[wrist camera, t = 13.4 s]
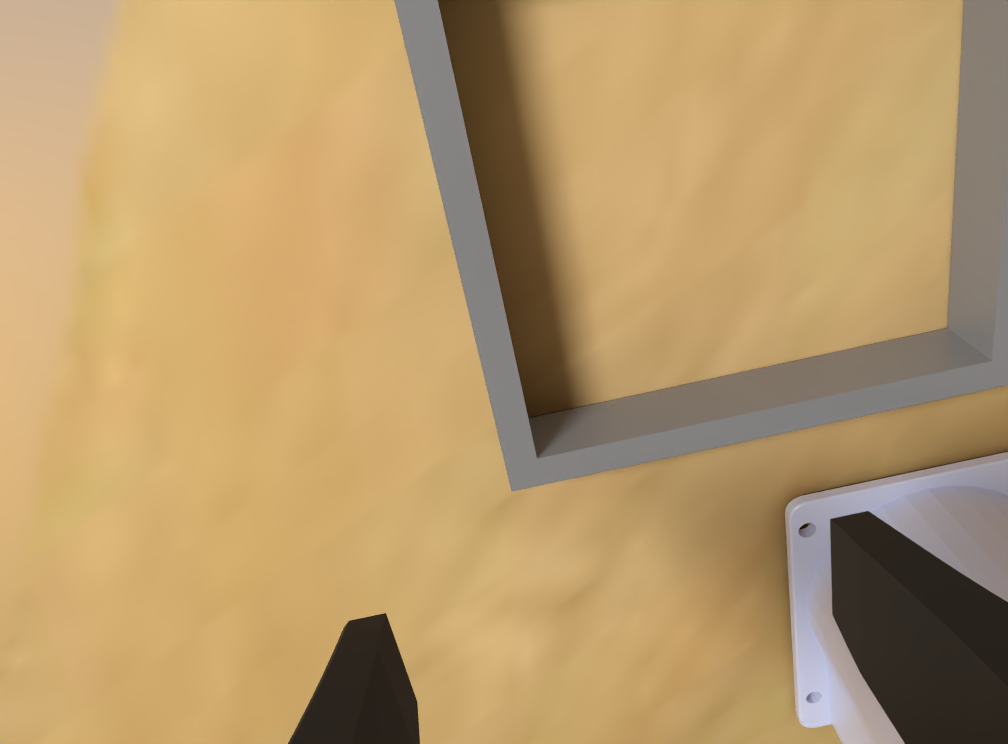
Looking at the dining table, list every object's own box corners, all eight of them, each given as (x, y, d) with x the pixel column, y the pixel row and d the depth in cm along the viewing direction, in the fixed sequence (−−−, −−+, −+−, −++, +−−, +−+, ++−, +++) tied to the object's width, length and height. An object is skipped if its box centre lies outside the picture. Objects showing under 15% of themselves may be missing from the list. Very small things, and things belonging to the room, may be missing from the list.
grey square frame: (975, 348, 23) (1021, 382, 21) (505, 448, 23) (511, 491, 21) (1014, -226, 17) (1083, -245, 15) (379, -81, 17) (374, -85, 15)
